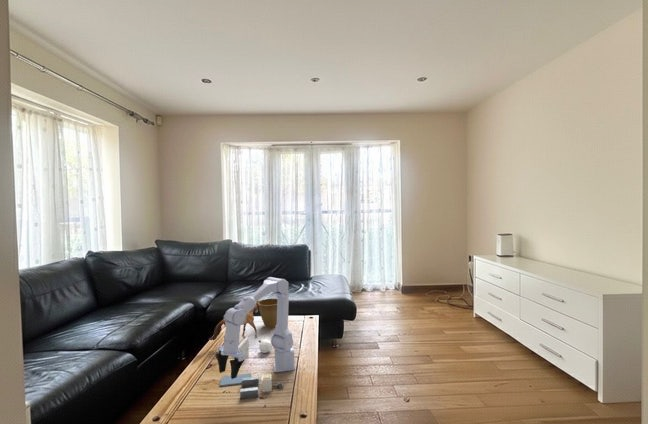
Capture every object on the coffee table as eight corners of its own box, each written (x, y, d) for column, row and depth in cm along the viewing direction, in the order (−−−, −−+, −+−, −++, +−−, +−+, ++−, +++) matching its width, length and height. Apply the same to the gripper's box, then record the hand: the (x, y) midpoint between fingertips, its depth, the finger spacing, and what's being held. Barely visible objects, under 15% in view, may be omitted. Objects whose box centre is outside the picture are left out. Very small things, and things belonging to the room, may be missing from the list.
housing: (258, 383, 132) (258, 376, 132) (258, 397, 122) (258, 389, 122) (242, 385, 131) (242, 378, 131) (240, 399, 121) (240, 391, 121)
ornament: (267, 356, 156) (258, 345, 156) (262, 355, 162) (254, 345, 162) (276, 346, 160) (267, 335, 160) (271, 346, 166) (263, 336, 166)
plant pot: (274, 319, 208) (273, 296, 208) (285, 326, 197) (285, 301, 197) (254, 325, 199) (254, 301, 199) (265, 332, 187) (265, 306, 187)
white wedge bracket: (255, 349, 159) (248, 337, 156) (241, 365, 153) (233, 353, 149) (251, 347, 162) (244, 335, 158) (237, 363, 155) (229, 351, 151)
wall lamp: (282, 384, 131) (282, 372, 131) (282, 389, 127) (282, 377, 127) (262, 386, 129) (261, 374, 129) (261, 392, 125) (261, 379, 125)
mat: (251, 374, 139) (251, 373, 139) (250, 382, 132) (250, 381, 132) (221, 377, 137) (221, 376, 137) (219, 386, 130) (219, 385, 130)
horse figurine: (257, 332, 187) (257, 299, 187) (264, 336, 182) (264, 302, 182) (208, 348, 166) (208, 311, 166) (214, 353, 160) (214, 315, 160)
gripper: (212, 336, 123) (208, 372, 121) (234, 346, 114) (230, 384, 112) (227, 333, 128) (223, 367, 127) (249, 342, 120) (245, 378, 118)
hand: (227, 374), depth 120 cm, fingers open, 7 cm apart
